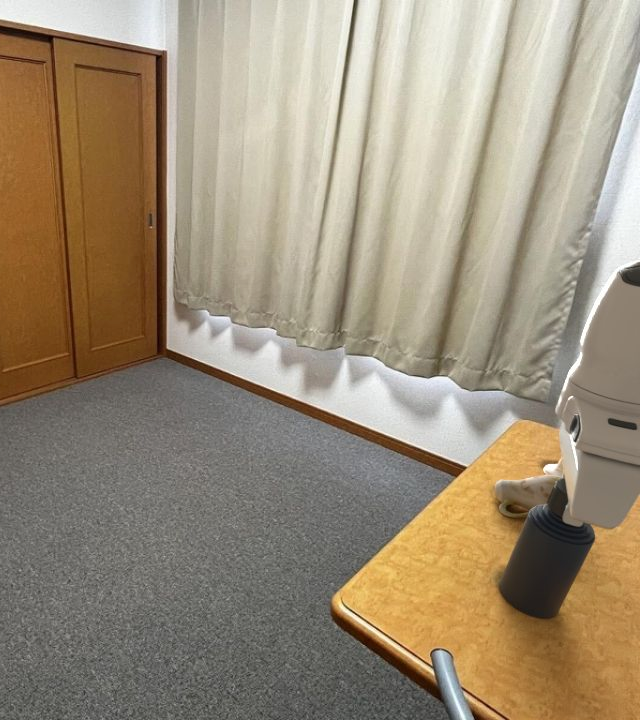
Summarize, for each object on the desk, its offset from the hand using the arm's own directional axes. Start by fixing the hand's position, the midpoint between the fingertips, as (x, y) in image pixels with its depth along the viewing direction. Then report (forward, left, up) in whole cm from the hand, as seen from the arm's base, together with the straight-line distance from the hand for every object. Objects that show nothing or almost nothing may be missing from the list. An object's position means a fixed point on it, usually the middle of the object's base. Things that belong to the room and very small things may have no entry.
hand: (568, 508), depth 58 cm
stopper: (0, 0, 0) cm, 0 cm away
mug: (-9, -20, -16) cm, 27 cm away
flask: (0, 0, -16) cm, 16 cm away
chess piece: (-20, -31, -16) cm, 40 cm away
